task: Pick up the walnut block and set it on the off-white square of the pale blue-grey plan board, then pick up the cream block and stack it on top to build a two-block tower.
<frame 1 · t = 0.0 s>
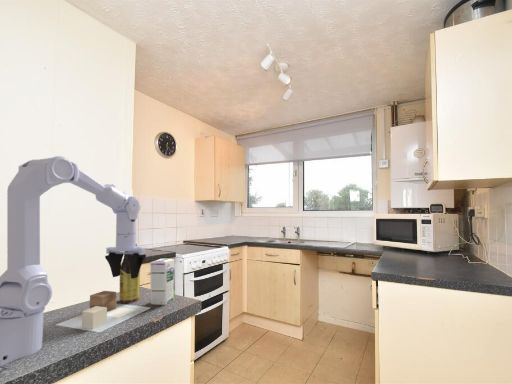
hand: (125, 277, 84), 10 cm above the counter, tool pointing down, fingers open, 7 cm apart
syrup box: (162, 304, 88), on the counter
cream block: (94, 324, 70), point 1 cm above the counter, touching plan board
plan board: (106, 318, 76), on the counter
sauce bottle: (129, 303, 90), on the counter
walnut block: (103, 310, 81), point 1 cm above the counter, touching plan board
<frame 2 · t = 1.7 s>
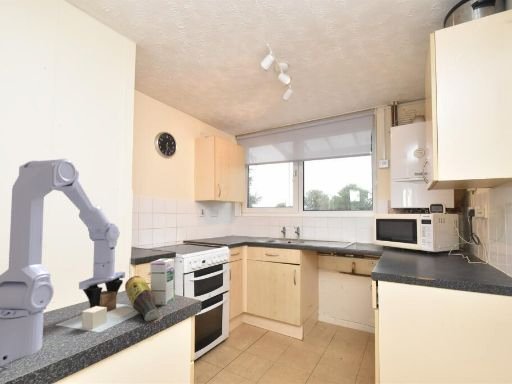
hand: (103, 307, 81), 2 cm above the counter, tool pointing down, fingers closed on walnut block, 5 cm apart
sauce bottle: (133, 284, 88), point 7 cm above the counter
walnut block: (103, 310, 81), point 1 cm above the counter, touching gripper, plan board
everything else where it was.
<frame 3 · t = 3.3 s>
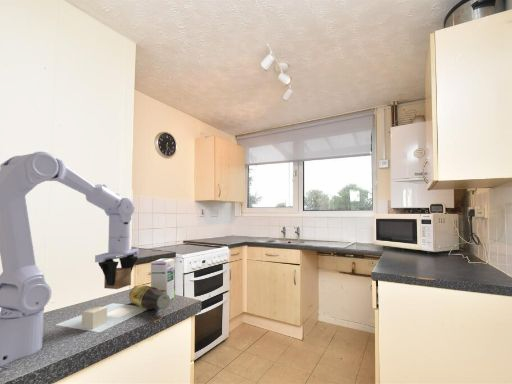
hand: (118, 282, 80), 9 cm above the counter, tool pointing down, fingers closed on walnut block, 5 cm apart
sauce bottle: (136, 294, 89), point 3 cm above the counter, touching plan board
walnut block: (117, 286, 80), point 8 cm above the counter, touching gripper
everything else where it was.
when the fingers open (3 cm above the counter, at t = 5.1 s): walnut block stays where it is, resting on plan board.
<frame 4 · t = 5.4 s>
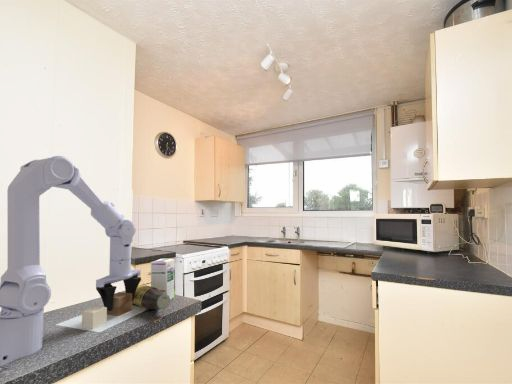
hand: (119, 305, 79), 3 cm above the counter, tool pointing down, fingers open, 7 cm apart
walnut block: (119, 312, 79), point 1 cm above the counter, touching plan board
everything else where it was.
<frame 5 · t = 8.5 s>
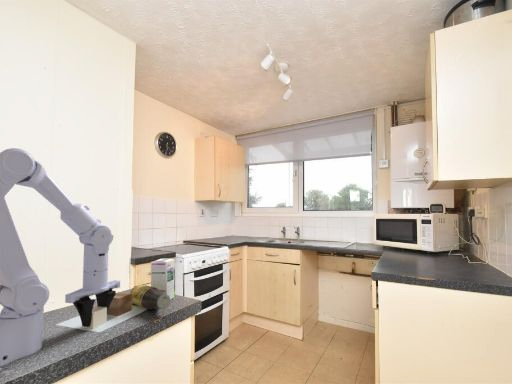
hand: (94, 322, 70), 1 cm above the counter, tool pointing down, fingers closed on cream block, 4 cm apart
cream block: (94, 324, 70), point 1 cm above the counter, touching gripper, plan board
everything else where it was.
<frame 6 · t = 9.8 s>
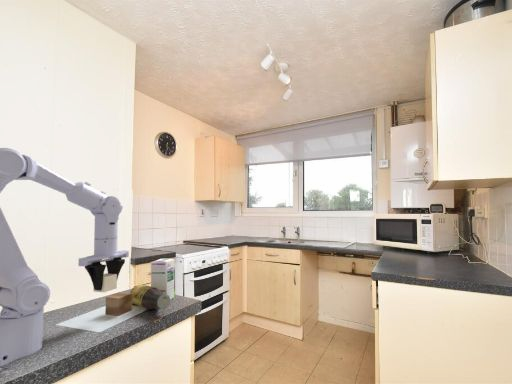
hand: (105, 287, 74), 10 cm above the counter, tool pointing down, fingers closed on cream block, 4 cm apart
syrup box: (163, 304, 88), on the counter, touching sauce bottle
cream block: (105, 289, 74), point 9 cm above the counter, touching gripper
sauce bottle: (136, 294, 89), point 3 cm above the counter, touching plan board, syrup box
everything else where it was.
when the fingers open (7 cm above the counter, at t = 11.1 s): cream block stays where it is, resting on walnut block.
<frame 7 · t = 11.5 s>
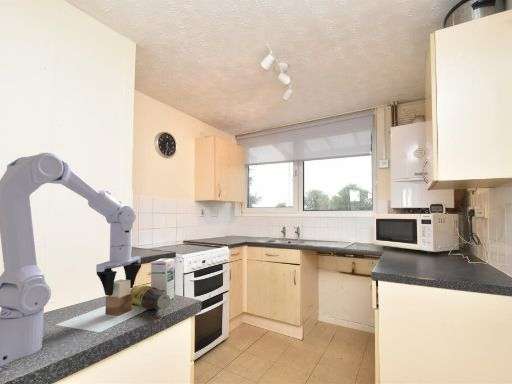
hand: (119, 291, 79), 7 cm above the counter, tool pointing down, fingers open, 7 cm apart
cream block: (119, 295, 79), point 6 cm above the counter, touching walnut block
walnut block: (119, 312, 79), point 1 cm above the counter, touching cream block, plan board
everything else where it was.
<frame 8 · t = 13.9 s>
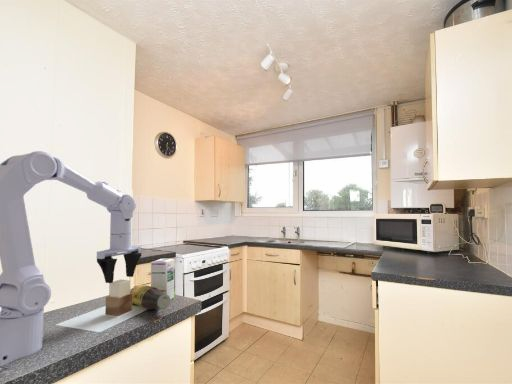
hand: (120, 279, 80), 10 cm above the counter, tool pointing down, fingers open, 7 cm apart
syrup box: (163, 304, 88), on the counter
sauce bottle: (136, 294, 90), point 3 cm above the counter, touching plan board
everything else where it was.
at the end: walnut block 0.2 cm from the target spot, point 0.8 cm above the counter; cream block 0.2 cm off-centre on the walnut block, point 5.0 cm above the walnut block's base; cream block tilted 0° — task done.
